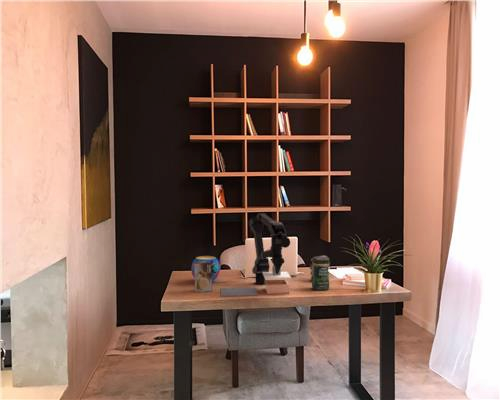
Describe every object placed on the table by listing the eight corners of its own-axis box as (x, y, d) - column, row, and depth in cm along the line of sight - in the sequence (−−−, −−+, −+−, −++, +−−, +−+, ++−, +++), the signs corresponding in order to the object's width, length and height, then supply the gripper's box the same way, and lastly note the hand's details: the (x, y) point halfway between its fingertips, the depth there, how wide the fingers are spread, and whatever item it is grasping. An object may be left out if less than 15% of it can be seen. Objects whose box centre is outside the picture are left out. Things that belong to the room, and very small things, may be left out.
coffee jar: (314, 291, 235) (314, 257, 234) (310, 287, 242) (310, 255, 242) (331, 290, 236) (331, 257, 235) (326, 286, 244) (326, 255, 243)
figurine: (331, 281, 256) (331, 257, 256) (313, 282, 254) (313, 258, 253) (325, 278, 265) (325, 254, 265) (308, 279, 263) (308, 255, 262)
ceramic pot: (192, 286, 247) (192, 260, 246) (190, 279, 264) (190, 255, 264) (221, 284, 250) (221, 259, 250) (218, 277, 268) (218, 254, 267)
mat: (220, 288, 241) (220, 287, 241) (255, 287, 242) (255, 287, 242) (220, 296, 224) (220, 295, 224) (258, 295, 225) (258, 294, 225)
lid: (262, 273, 241) (262, 264, 241) (286, 273, 242) (286, 263, 242) (265, 279, 227) (265, 269, 227) (291, 278, 228) (291, 268, 228)
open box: (264, 288, 240) (264, 279, 240) (285, 288, 241) (285, 279, 241) (267, 294, 228) (267, 285, 228) (289, 293, 229) (289, 284, 229)
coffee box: (210, 288, 241) (210, 260, 241) (212, 291, 235) (212, 262, 235) (194, 289, 239) (194, 261, 238) (196, 292, 233) (196, 263, 232)
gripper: (260, 242, 242) (260, 269, 243) (263, 248, 224) (263, 277, 224) (279, 242, 243) (279, 269, 244) (284, 247, 224) (284, 276, 225)
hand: (276, 273), depth 234 cm, fingers closed on lid, 4 cm apart
